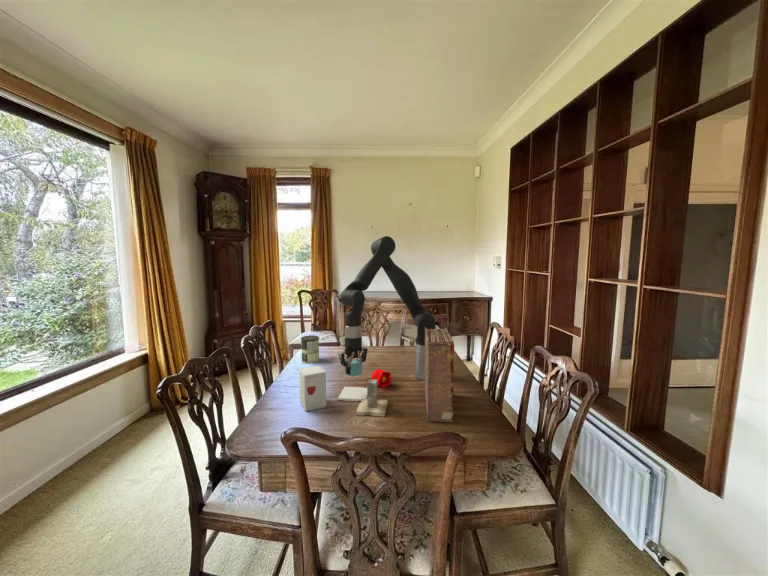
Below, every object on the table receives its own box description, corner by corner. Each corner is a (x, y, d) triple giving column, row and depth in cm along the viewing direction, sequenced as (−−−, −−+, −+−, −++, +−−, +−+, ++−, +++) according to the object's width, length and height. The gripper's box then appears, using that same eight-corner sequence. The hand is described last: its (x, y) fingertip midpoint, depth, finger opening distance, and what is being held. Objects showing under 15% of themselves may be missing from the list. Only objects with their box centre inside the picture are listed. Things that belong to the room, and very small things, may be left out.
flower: (382, 369, 157) (393, 373, 151) (378, 385, 155) (389, 389, 149) (371, 366, 152) (382, 370, 146) (366, 382, 150) (377, 386, 144)
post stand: (387, 403, 132) (387, 376, 130) (384, 416, 121) (384, 387, 120) (361, 402, 133) (361, 375, 132) (356, 415, 122) (355, 386, 121)
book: (424, 392, 142) (424, 327, 139) (445, 393, 141) (446, 327, 138) (427, 422, 116) (428, 342, 114) (453, 422, 116) (454, 342, 113)
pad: (370, 390, 145) (370, 387, 145) (365, 401, 133) (365, 399, 133) (344, 388, 146) (344, 386, 146) (337, 400, 135) (337, 398, 134)
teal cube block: (355, 371, 143) (355, 360, 142) (361, 374, 139) (361, 363, 138) (345, 373, 140) (345, 362, 139) (351, 376, 136) (351, 365, 135)
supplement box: (304, 412, 125) (303, 375, 123) (299, 403, 133) (298, 368, 131) (327, 407, 129) (326, 371, 127) (321, 398, 137) (320, 364, 135)
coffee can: (298, 363, 183) (298, 339, 182) (305, 357, 193) (304, 335, 192) (315, 363, 182) (315, 339, 180) (321, 358, 192) (321, 335, 191)
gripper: (362, 331, 145) (362, 367, 146) (334, 336, 136) (335, 374, 138) (371, 334, 139) (371, 371, 140) (343, 339, 130) (343, 379, 132)
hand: (353, 372), depth 139 cm, fingers closed on teal cube block, 5 cm apart
